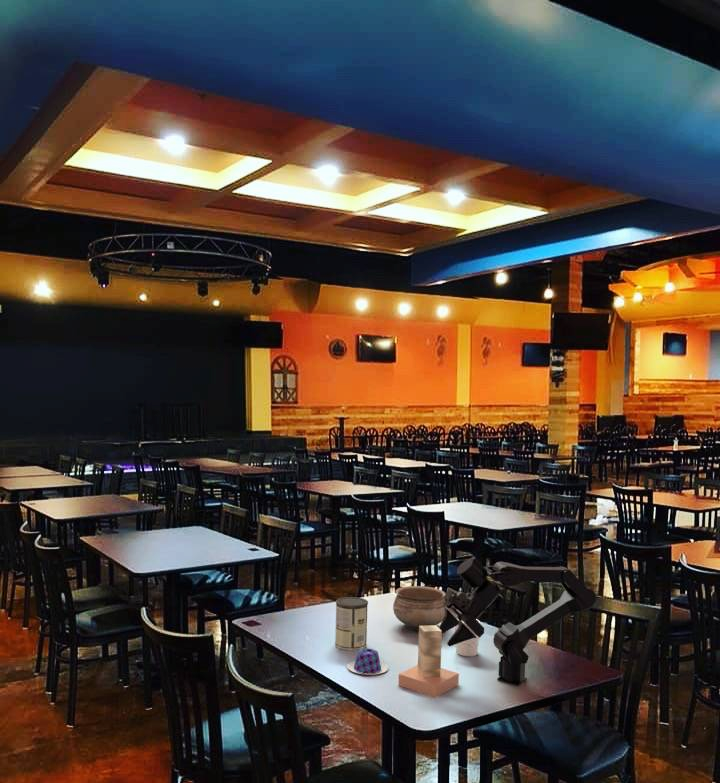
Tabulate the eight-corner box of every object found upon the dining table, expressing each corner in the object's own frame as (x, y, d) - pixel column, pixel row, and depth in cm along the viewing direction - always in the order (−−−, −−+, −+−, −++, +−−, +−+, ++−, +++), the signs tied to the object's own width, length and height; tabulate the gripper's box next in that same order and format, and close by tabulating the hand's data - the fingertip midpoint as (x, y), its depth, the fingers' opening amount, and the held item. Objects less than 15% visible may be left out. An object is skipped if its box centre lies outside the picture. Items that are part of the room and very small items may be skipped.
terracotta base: (458, 684, 196) (458, 673, 196) (435, 697, 186) (435, 685, 186) (422, 672, 203) (422, 662, 203) (398, 684, 194) (398, 674, 194)
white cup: (478, 658, 217) (479, 625, 217) (453, 655, 218) (454, 623, 218) (479, 649, 224) (480, 618, 225) (454, 647, 226) (455, 616, 226)
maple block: (434, 669, 198) (436, 625, 198) (440, 676, 193) (441, 630, 193) (417, 670, 197) (419, 625, 197) (422, 677, 192) (424, 631, 192)
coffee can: (343, 638, 232) (344, 595, 232) (371, 643, 227) (373, 599, 228) (328, 647, 222) (330, 602, 223) (358, 653, 218) (359, 607, 218)
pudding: (364, 659, 214) (365, 641, 214) (396, 669, 206) (396, 651, 206) (338, 669, 205) (339, 651, 205) (370, 680, 197) (371, 661, 197)
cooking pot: (416, 642, 230) (418, 604, 230) (375, 628, 243) (376, 592, 244) (462, 627, 247) (464, 592, 248) (421, 614, 261) (422, 581, 261)
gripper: (451, 571, 206) (414, 610, 204) (474, 587, 188) (433, 630, 186) (476, 597, 208) (439, 636, 205) (501, 616, 189) (461, 659, 187)
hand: (442, 639), depth 196 cm, fingers open, 9 cm apart
